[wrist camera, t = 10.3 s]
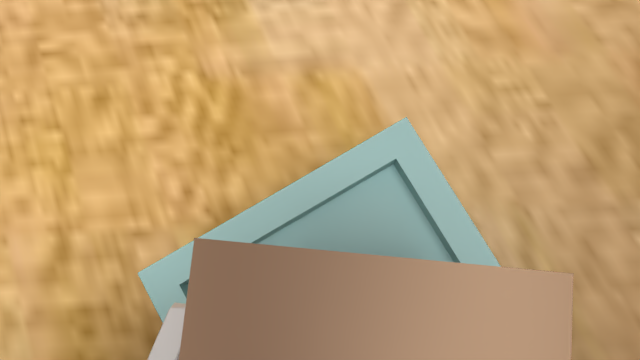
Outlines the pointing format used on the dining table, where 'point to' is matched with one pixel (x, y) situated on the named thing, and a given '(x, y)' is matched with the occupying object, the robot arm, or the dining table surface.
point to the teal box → (348, 214)
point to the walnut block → (368, 307)
